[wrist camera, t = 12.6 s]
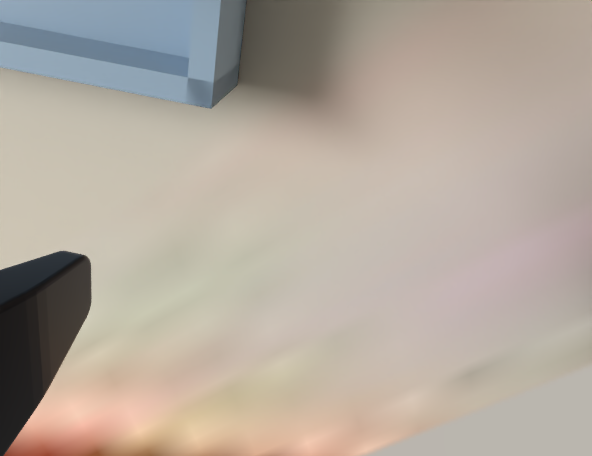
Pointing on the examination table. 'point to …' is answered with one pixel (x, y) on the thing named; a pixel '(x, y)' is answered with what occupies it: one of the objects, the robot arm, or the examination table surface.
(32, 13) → the pin tray
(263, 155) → the examination table surface
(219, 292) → the examination table surface
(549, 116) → the examination table surface
